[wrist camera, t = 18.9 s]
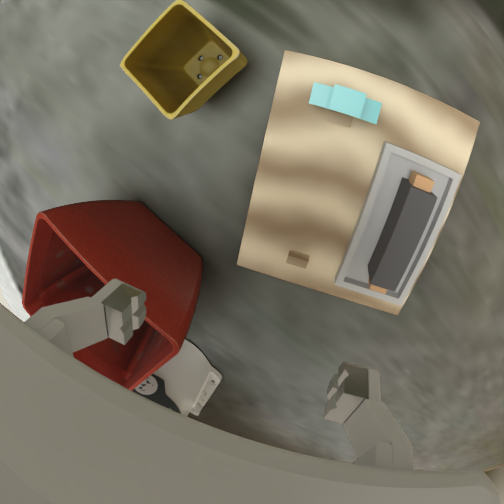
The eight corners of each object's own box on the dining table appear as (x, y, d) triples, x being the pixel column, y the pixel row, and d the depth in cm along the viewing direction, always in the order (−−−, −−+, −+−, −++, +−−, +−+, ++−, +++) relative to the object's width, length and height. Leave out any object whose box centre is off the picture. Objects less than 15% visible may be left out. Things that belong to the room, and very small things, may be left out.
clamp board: (396, 309, 37) (398, 322, 34) (239, 260, 39) (232, 270, 37) (475, 121, 24) (485, 123, 21) (286, 52, 27) (282, 47, 24)
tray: (399, 298, 35) (401, 305, 33) (334, 277, 36) (334, 284, 34) (456, 171, 26) (461, 175, 25) (383, 140, 27) (386, 142, 26)
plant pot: (132, 165, 37) (35, 208, 23) (238, 259, 39) (183, 350, 25) (89, 252, 47) (20, 306, 32) (171, 327, 49) (120, 400, 34)
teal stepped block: (369, 122, 27) (383, 126, 19) (312, 104, 27) (304, 102, 20) (374, 104, 26) (389, 102, 18) (316, 86, 26) (310, 77, 19)
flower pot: (214, 18, 26) (178, -4, 18) (265, 66, 28) (241, 52, 20) (163, 69, 30) (117, 64, 23) (208, 117, 32) (169, 122, 24)
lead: (385, 281, 34) (389, 300, 30) (363, 274, 34) (365, 293, 31) (430, 176, 27) (442, 186, 24) (405, 166, 27) (415, 174, 24)
